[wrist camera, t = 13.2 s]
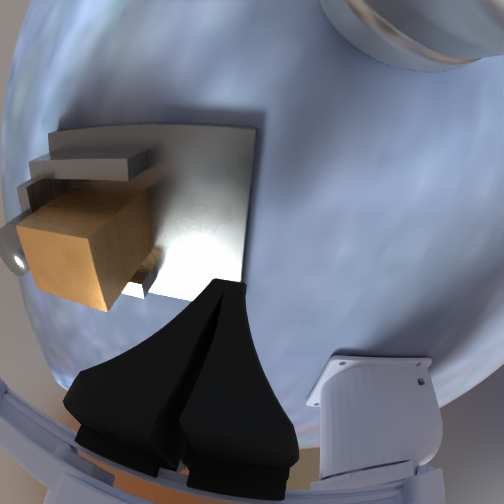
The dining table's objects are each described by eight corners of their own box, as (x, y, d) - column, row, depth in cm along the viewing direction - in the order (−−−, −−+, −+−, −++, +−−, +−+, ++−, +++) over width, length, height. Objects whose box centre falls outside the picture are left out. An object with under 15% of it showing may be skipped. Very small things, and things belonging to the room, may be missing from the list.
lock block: (147, 189, 13) (88, 238, 8) (151, 250, 15) (107, 312, 10) (73, 184, 13) (13, 225, 9) (83, 238, 15) (34, 287, 11)
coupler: (257, 128, 11) (233, 152, 6) (239, 299, 17) (221, 380, 12) (47, 132, 12) (-24, 162, 7) (71, 265, 17) (27, 316, 12)
